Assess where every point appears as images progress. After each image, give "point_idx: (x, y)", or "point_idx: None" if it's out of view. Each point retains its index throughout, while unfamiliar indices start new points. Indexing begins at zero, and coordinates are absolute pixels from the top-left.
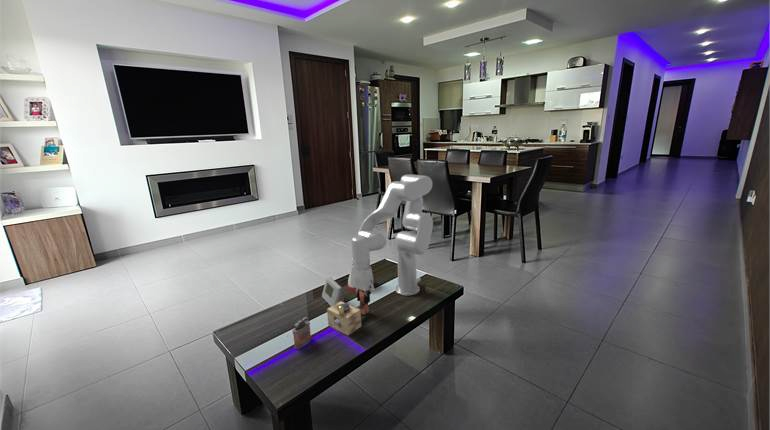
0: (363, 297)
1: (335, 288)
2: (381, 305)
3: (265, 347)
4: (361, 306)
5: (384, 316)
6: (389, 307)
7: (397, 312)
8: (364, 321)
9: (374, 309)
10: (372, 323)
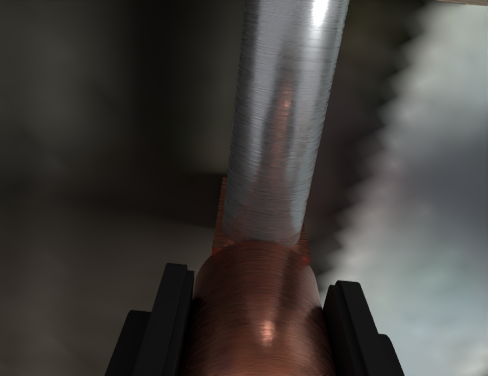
0: (202, 367)
1: None
2: None
3: None
4: (239, 215)
5: (43, 251)
6: None
7: (3, 343)
8: (147, 77)
9: None
10: (41, 90)
